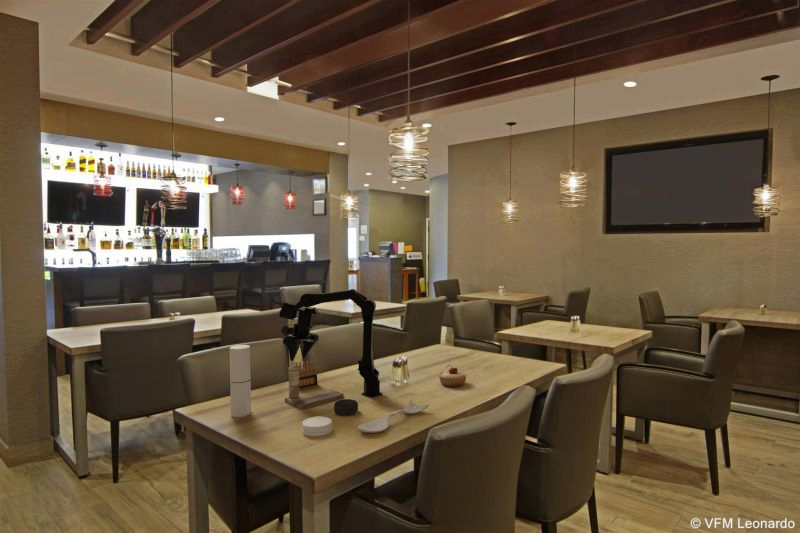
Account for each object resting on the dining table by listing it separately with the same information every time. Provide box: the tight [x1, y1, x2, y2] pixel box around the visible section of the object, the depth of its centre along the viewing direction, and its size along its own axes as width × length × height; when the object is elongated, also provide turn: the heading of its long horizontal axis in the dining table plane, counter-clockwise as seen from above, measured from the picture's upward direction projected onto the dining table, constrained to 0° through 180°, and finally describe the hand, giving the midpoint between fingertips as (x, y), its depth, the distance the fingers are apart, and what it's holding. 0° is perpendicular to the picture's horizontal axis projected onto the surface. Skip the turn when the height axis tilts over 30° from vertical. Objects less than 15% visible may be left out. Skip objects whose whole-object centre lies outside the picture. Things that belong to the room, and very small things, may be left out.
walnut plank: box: [290, 389, 345, 410], centre depth 190 cm, size 8×20×2 cm, turn 135°
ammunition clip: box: [294, 358, 319, 390], centre depth 210 cm, size 11×2×12 cm, turn 129°
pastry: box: [439, 364, 467, 388], centre depth 213 cm, size 12×12×9 cm
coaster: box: [301, 416, 333, 437], centre depth 160 cm, size 10×10×4 cm
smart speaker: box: [333, 398, 359, 417], centre depth 177 cm, size 9×9×4 cm
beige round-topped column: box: [284, 365, 305, 405], centre depth 189 cm, size 5×6×14 cm
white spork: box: [357, 399, 430, 434], centre depth 168 cm, size 9×32×4 cm, turn 141°
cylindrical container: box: [229, 344, 252, 418], centre depth 176 cm, size 7×7×25 cm
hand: (297, 358), depth 199 cm, fingers open, 9 cm apart
